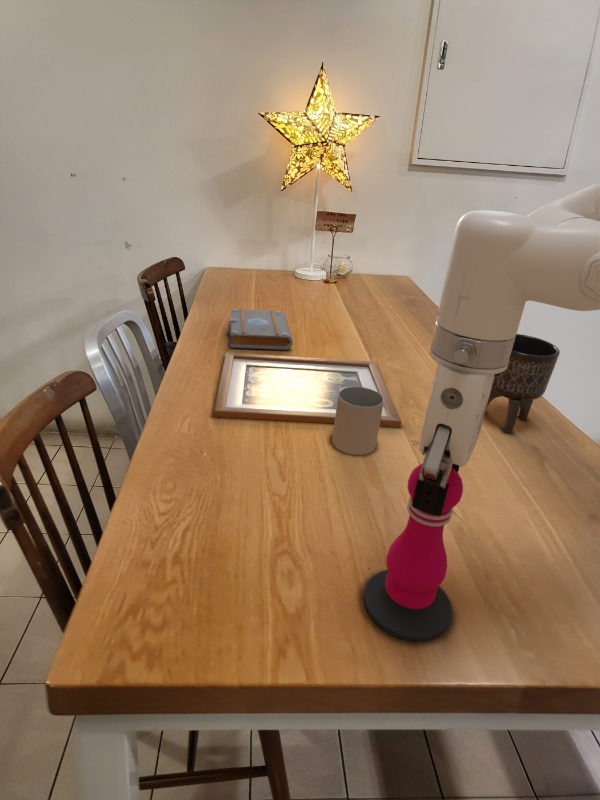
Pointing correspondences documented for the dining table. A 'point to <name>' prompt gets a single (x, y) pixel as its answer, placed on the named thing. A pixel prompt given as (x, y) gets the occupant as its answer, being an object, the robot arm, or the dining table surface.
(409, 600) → the pepper mill
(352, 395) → the cup
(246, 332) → the book
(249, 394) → the wall art
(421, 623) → the trivet
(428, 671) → the dining table surface
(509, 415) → the planter
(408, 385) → the dining table surface
